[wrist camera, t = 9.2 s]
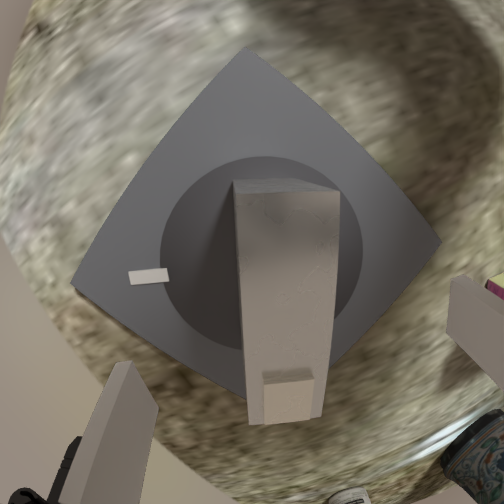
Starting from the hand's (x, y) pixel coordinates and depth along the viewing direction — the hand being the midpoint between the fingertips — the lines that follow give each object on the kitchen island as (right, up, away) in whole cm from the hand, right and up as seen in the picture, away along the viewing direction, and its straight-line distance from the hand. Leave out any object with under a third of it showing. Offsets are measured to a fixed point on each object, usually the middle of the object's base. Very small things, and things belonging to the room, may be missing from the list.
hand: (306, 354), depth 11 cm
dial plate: (-1, +3, +12) cm, 13 cm away
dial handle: (-1, +3, +11) cm, 11 cm away
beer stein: (+41, -31, +26) cm, 58 cm away
